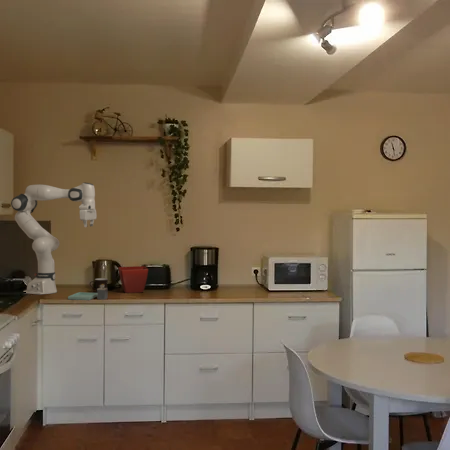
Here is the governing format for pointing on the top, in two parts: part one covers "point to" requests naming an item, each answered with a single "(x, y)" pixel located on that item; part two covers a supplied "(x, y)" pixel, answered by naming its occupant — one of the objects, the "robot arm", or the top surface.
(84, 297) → the tray
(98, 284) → the coffee mug
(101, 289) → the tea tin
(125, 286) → the plant pot
